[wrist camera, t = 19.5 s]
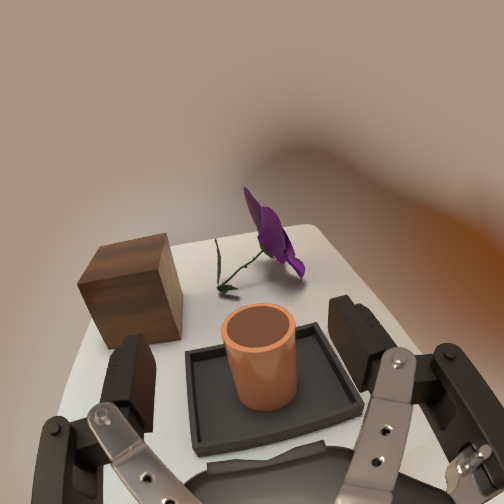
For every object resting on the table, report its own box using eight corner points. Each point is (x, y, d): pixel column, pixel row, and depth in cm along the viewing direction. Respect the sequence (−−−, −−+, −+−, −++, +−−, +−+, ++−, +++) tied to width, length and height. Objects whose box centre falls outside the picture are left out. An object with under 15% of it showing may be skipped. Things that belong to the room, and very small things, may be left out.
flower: (258, 339, 44) (327, 280, 44) (192, 279, 36) (278, 206, 36) (229, 291, 56) (284, 244, 57) (176, 237, 48) (239, 183, 49)
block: (181, 339, 38) (157, 269, 33) (108, 349, 37) (76, 284, 32) (182, 294, 48) (166, 232, 43) (121, 304, 47) (99, 246, 42)
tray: (197, 456, 23) (192, 448, 22) (189, 362, 34) (184, 351, 34) (361, 414, 25) (365, 403, 24) (316, 333, 36) (316, 321, 36)
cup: (276, 421, 25) (268, 363, 21) (224, 395, 29) (205, 334, 25) (308, 377, 30) (308, 314, 26) (259, 358, 33) (249, 295, 29)
